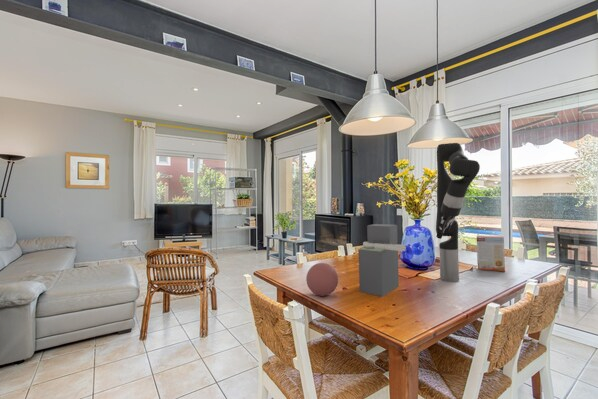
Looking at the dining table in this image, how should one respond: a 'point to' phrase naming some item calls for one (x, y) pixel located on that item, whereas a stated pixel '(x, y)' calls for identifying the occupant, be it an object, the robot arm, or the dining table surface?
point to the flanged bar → (384, 246)
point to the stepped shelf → (379, 262)
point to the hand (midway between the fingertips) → (442, 234)
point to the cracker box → (490, 253)
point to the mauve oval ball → (322, 279)
